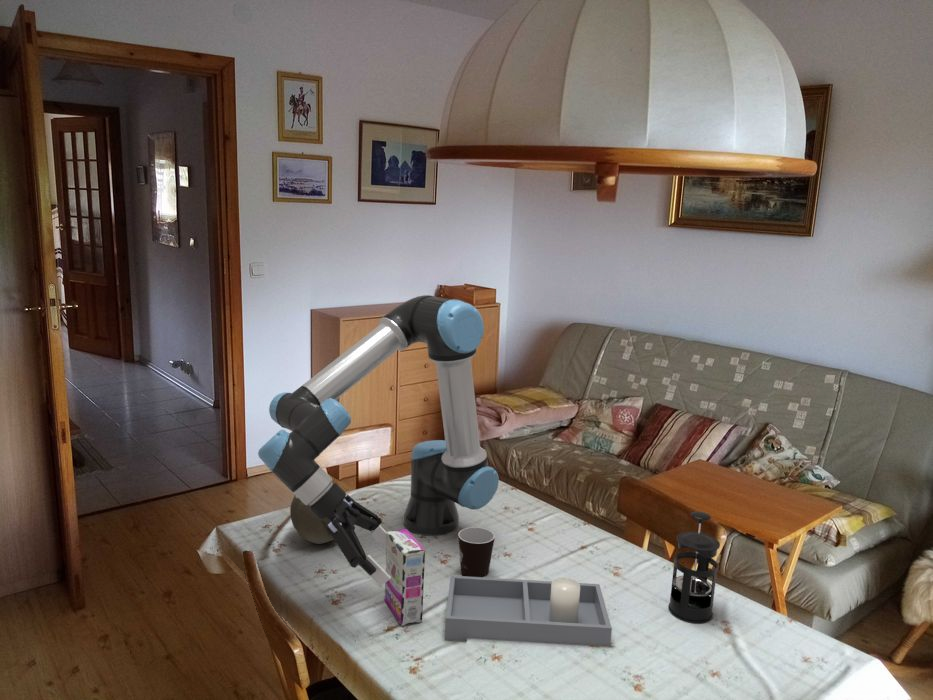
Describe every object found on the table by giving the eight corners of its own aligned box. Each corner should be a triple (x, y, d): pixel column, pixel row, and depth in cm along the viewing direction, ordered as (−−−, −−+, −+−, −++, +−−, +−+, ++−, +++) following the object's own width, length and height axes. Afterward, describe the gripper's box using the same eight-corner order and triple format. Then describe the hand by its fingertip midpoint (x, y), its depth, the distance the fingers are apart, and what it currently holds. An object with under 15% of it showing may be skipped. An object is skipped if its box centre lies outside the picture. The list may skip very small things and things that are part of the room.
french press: (702, 630, 149) (713, 528, 145) (660, 613, 155) (670, 515, 151) (721, 607, 158) (733, 511, 154) (681, 592, 164) (691, 499, 160)
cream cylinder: (548, 611, 153) (550, 577, 151) (575, 612, 152) (578, 578, 151) (550, 627, 147) (552, 591, 145) (579, 628, 147) (581, 593, 145)
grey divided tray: (449, 595, 159) (450, 575, 158) (597, 603, 158) (599, 584, 157) (444, 639, 142) (445, 618, 141) (609, 650, 141) (611, 628, 140)
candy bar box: (424, 622, 148) (426, 549, 145) (401, 627, 146) (403, 553, 143) (405, 596, 158) (407, 527, 155) (383, 600, 156) (385, 530, 153)
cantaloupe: (352, 532, 188) (353, 478, 185) (333, 556, 174) (334, 499, 171) (302, 526, 190) (302, 473, 187) (279, 550, 176) (279, 493, 174)
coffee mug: (489, 585, 164) (491, 545, 162) (452, 580, 165) (454, 540, 163) (497, 562, 175) (499, 524, 173) (463, 557, 176) (464, 520, 175)
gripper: (322, 483, 160) (387, 549, 162) (290, 531, 135) (367, 608, 138) (346, 462, 159) (411, 528, 161) (318, 507, 134) (395, 585, 136)
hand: (391, 565), depth 149 cm, fingers open, 13 cm apart
